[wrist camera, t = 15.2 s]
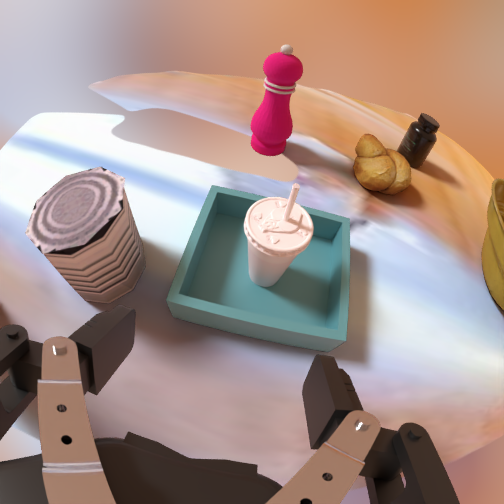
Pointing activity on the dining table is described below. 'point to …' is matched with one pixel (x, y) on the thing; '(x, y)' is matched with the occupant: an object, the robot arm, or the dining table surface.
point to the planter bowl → (495, 244)
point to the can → (89, 234)
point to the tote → (257, 297)
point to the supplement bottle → (419, 140)
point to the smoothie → (275, 236)
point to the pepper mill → (276, 103)
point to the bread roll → (380, 167)
